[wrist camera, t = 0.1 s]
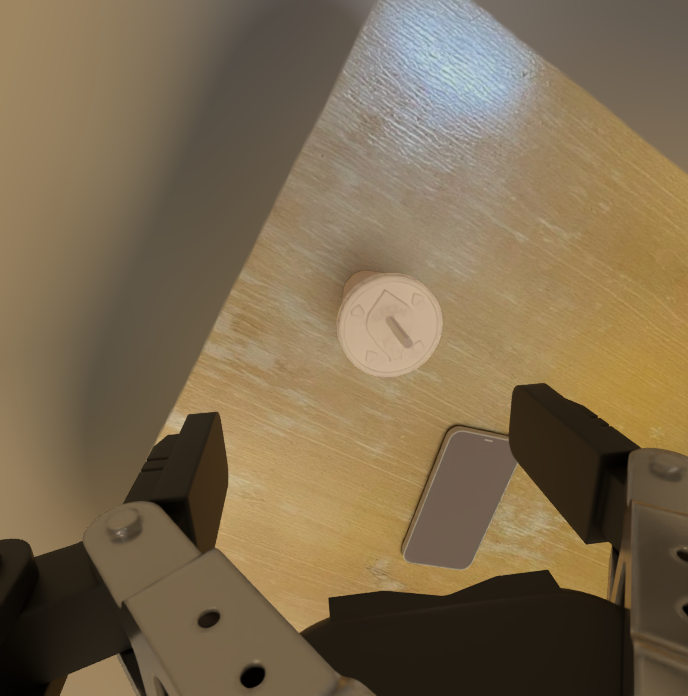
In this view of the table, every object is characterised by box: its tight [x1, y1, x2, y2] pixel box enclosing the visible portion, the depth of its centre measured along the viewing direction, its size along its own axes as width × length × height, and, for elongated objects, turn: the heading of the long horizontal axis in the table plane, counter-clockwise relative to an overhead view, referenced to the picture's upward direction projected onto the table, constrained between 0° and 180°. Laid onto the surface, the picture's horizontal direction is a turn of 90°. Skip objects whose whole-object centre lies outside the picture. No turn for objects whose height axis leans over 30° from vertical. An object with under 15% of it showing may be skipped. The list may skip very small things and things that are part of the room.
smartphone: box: [402, 426, 518, 570], centre depth 43 cm, size 7×1×15 cm
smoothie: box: [336, 270, 443, 377], centre depth 29 cm, size 6×6×14 cm
